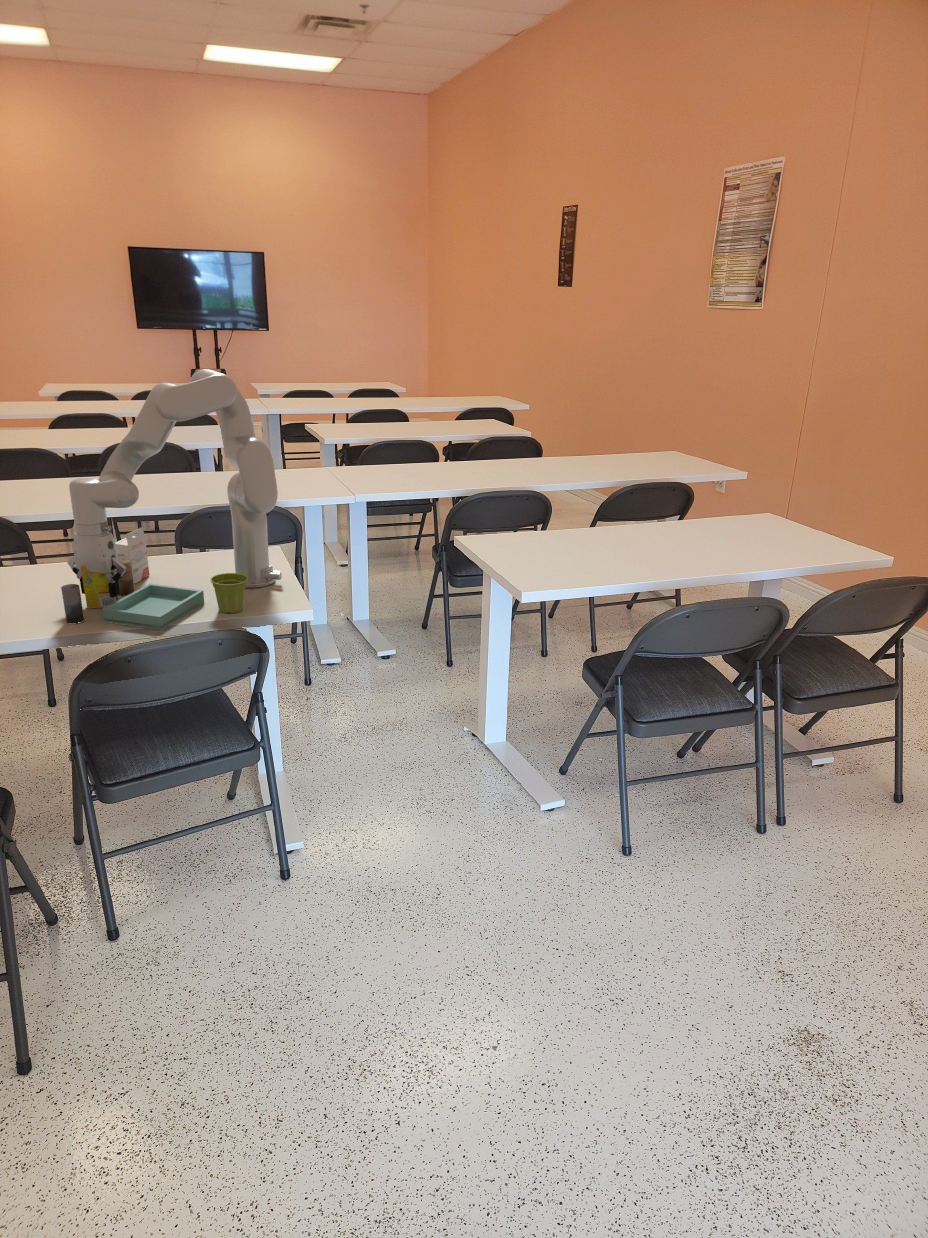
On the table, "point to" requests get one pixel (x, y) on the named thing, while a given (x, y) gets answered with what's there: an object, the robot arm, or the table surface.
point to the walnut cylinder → (126, 579)
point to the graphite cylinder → (72, 603)
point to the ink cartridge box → (134, 553)
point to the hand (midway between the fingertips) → (100, 593)
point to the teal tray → (153, 606)
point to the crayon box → (96, 589)
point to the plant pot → (229, 591)
